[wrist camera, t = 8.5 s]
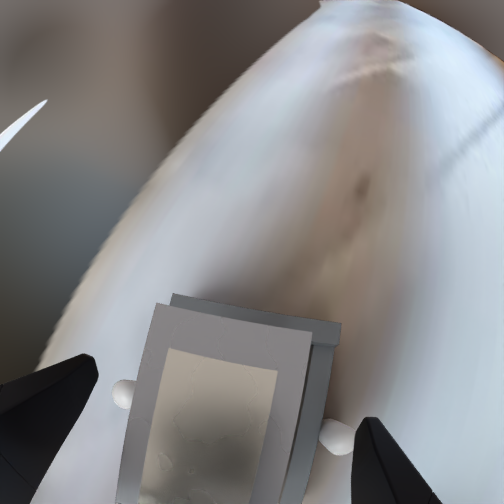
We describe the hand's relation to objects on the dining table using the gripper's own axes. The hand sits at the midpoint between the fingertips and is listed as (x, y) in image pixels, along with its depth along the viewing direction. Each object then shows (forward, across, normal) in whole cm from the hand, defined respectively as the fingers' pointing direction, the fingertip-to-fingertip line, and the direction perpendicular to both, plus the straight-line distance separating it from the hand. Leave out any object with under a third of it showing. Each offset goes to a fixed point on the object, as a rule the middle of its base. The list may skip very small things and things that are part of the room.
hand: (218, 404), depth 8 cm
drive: (+5, 0, +7) cm, 9 cm away
